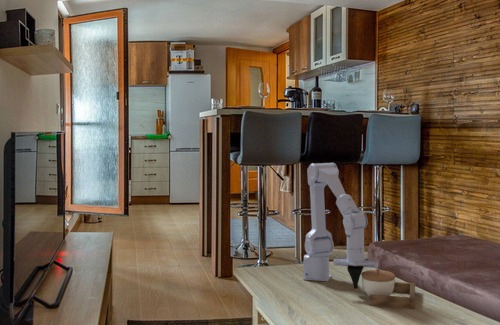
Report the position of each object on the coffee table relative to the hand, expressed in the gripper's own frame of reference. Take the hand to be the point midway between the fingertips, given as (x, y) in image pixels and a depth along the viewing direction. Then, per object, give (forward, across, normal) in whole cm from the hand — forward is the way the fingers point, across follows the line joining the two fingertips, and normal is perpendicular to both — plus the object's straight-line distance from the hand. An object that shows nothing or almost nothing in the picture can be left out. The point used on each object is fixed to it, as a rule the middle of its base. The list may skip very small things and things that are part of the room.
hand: (355, 287), depth 168 cm
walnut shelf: (+2, +11, 0) cm, 12 cm away
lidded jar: (+3, +7, 0) cm, 8 cm away
